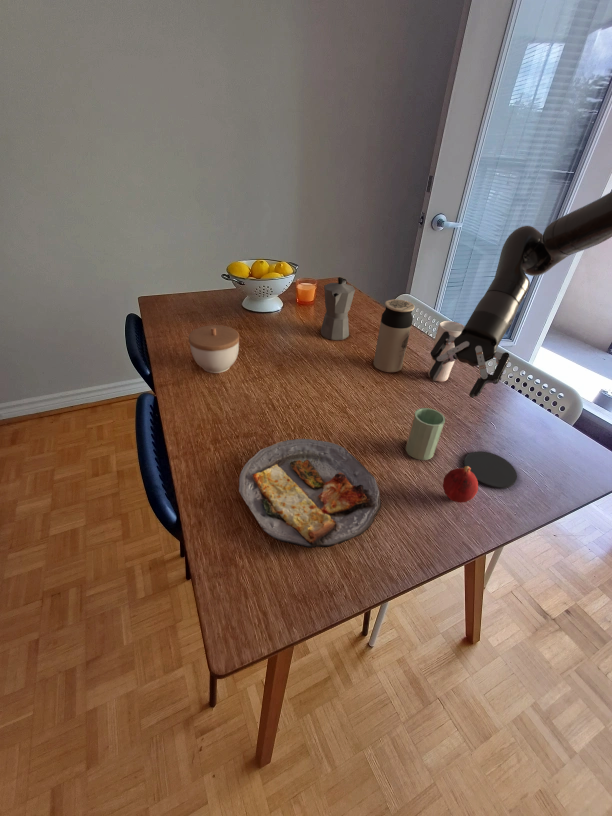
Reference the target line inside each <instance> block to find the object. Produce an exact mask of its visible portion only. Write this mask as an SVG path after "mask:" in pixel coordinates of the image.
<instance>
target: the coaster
mask: <svg viewBox="0 0 612 816" xmlns="http://www.w3.org/2000/svg"><path fill="white" fill-rule="evenodd" d="M466 466H469V467H470V468H471V470H470V471H471V472H472V473H473V474H474V475H475V476H476V478H477V481H478V484H481V485H482V486H486V487H489V488H492V489H498V490H503V489H508V488H510V487H512V486H514V485H515V483H516V482H517V480H518V474H517V471H516V469H515V467H514V466H513V465H512V463H510V462H509V461H508V460H507V459H505V458H503V457H501V456H500V455H498V454H495V453H492V452H488V451H480V450H479V451H473V452H470V453H468V454H467V455H466V456H465V458H464V460H463V468H464V467H466Z"/></svg>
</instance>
